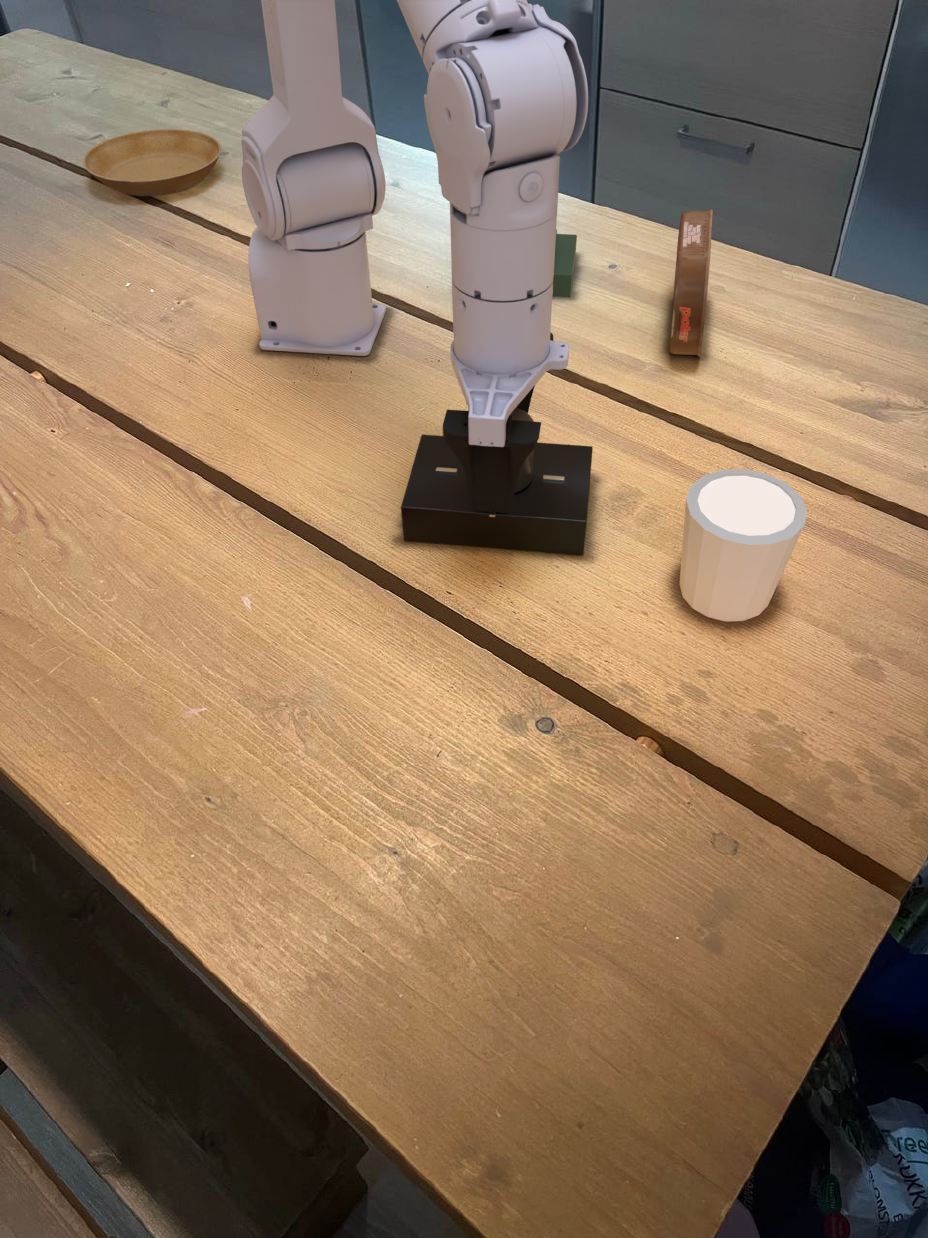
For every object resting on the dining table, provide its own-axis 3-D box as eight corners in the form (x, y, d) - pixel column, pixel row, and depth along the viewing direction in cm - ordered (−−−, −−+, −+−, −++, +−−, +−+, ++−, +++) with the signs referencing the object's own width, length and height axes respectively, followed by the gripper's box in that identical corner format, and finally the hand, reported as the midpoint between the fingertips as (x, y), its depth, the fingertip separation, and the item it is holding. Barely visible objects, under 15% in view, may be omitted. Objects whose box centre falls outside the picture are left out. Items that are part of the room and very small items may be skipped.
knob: (530, 497, 62) (532, 443, 59) (462, 493, 62) (461, 439, 59) (535, 456, 65) (537, 403, 62) (471, 452, 65) (470, 399, 62)
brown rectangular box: (699, 376, 77) (717, 277, 71) (659, 372, 77) (674, 273, 71) (704, 286, 87) (721, 192, 81) (669, 283, 87) (683, 190, 81)
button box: (460, 291, 87) (459, 249, 84) (472, 251, 92) (471, 210, 89) (570, 297, 86) (573, 255, 83) (575, 256, 91) (578, 215, 88)
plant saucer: (163, 142, 113) (158, 118, 111) (253, 169, 107) (249, 145, 105) (62, 185, 105) (54, 160, 103) (152, 217, 99) (146, 192, 97)
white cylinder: (757, 645, 57) (784, 559, 52) (652, 602, 59) (667, 517, 54) (795, 576, 61) (823, 490, 56) (694, 539, 63) (713, 453, 58)
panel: (402, 544, 64) (399, 507, 61) (424, 465, 69) (422, 429, 67) (583, 559, 62) (586, 522, 60) (589, 477, 68) (593, 441, 66)
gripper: (564, 350, 48) (551, 549, 58) (581, 223, 58) (567, 412, 68) (427, 341, 49) (437, 539, 59) (466, 218, 59) (469, 405, 69)
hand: (499, 470), depth 63 cm, fingers open, 7 cm apart
